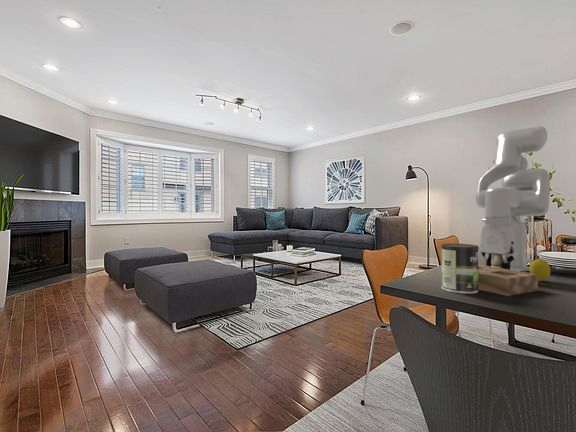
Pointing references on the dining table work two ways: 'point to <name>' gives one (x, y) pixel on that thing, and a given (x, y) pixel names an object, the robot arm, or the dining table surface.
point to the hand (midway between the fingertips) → (497, 271)
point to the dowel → (496, 260)
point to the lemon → (540, 269)
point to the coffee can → (460, 268)
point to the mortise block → (506, 281)
